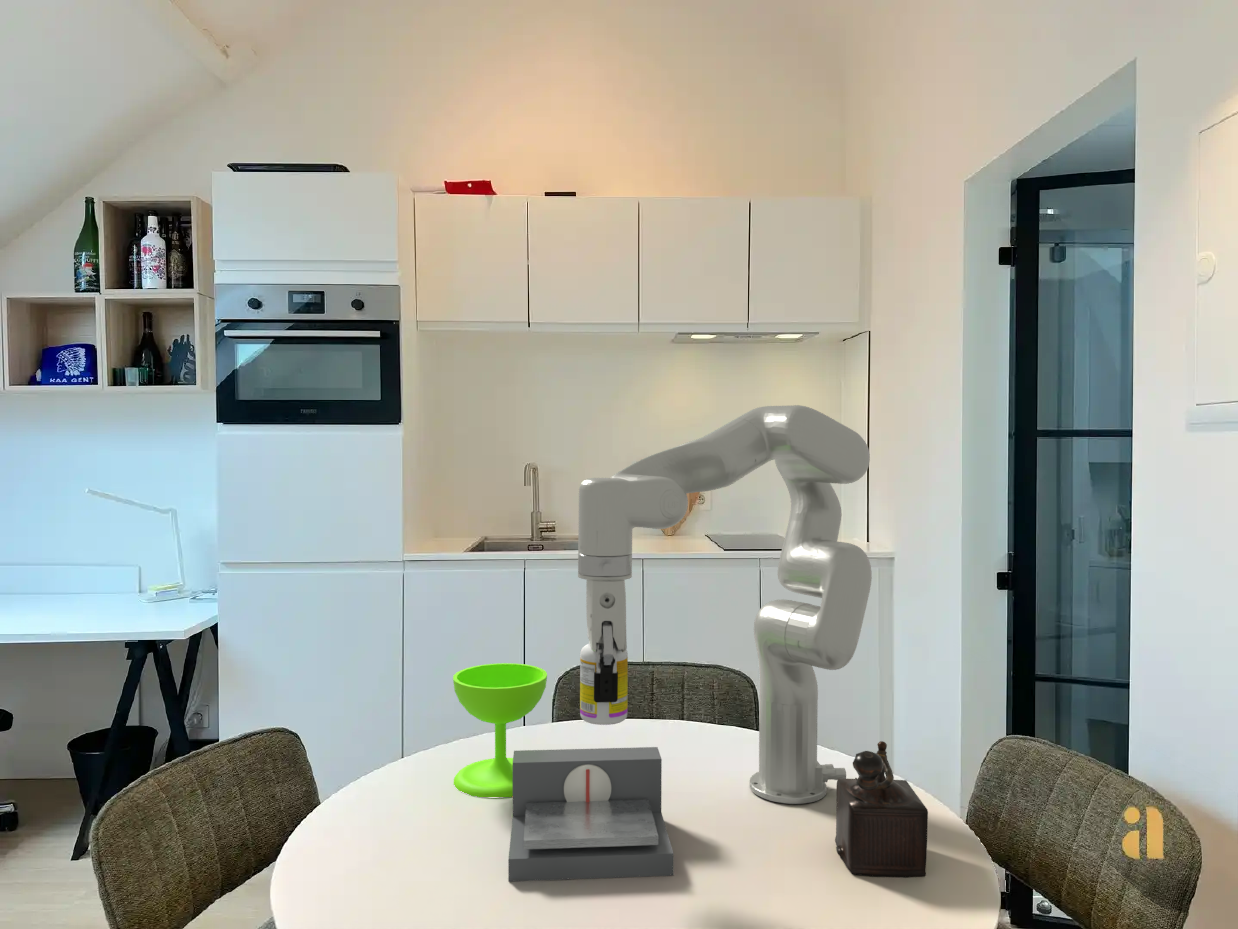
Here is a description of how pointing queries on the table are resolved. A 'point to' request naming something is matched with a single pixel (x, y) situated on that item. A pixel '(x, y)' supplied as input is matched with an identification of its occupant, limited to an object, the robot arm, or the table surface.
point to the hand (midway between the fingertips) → (603, 692)
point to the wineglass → (496, 718)
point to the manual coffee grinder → (880, 821)
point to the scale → (587, 780)
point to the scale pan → (589, 824)
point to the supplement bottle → (588, 707)
